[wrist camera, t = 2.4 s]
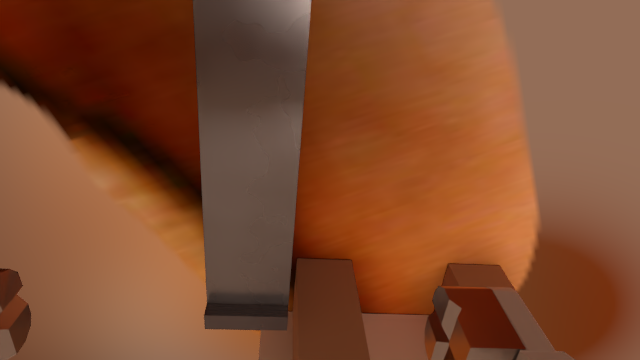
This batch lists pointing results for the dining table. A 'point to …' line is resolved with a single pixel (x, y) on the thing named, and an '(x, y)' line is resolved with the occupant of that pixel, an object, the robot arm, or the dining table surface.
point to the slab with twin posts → (355, 316)
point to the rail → (249, 153)
